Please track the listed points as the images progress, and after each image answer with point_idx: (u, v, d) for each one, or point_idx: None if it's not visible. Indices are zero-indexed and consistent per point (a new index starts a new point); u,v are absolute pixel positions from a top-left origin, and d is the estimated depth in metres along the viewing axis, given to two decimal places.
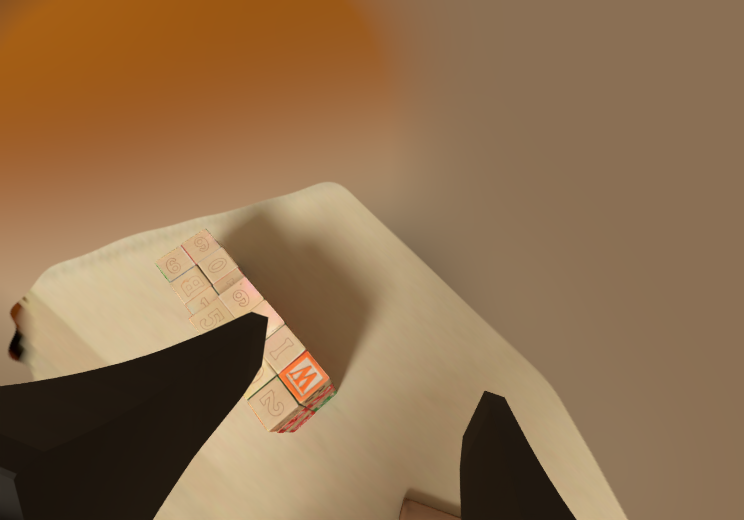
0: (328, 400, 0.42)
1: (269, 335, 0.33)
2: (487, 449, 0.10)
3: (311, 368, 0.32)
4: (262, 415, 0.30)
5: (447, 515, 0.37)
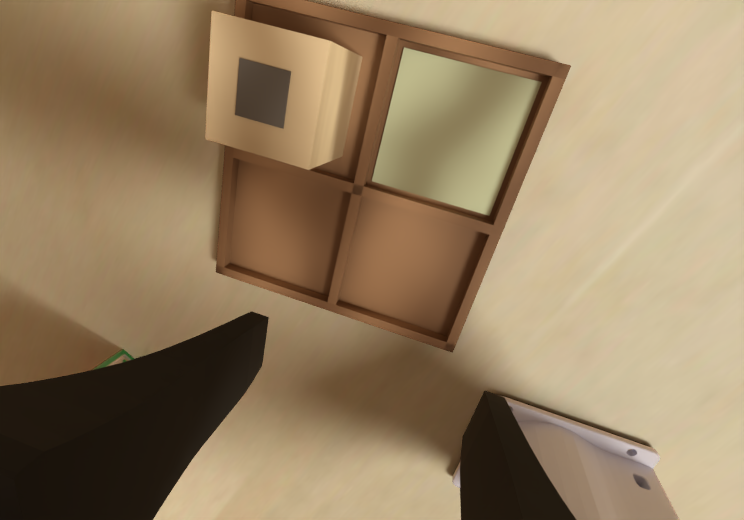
0: None
1: None
2: (487, 449, 0.10)
3: None
4: None
5: (222, 204, 0.21)
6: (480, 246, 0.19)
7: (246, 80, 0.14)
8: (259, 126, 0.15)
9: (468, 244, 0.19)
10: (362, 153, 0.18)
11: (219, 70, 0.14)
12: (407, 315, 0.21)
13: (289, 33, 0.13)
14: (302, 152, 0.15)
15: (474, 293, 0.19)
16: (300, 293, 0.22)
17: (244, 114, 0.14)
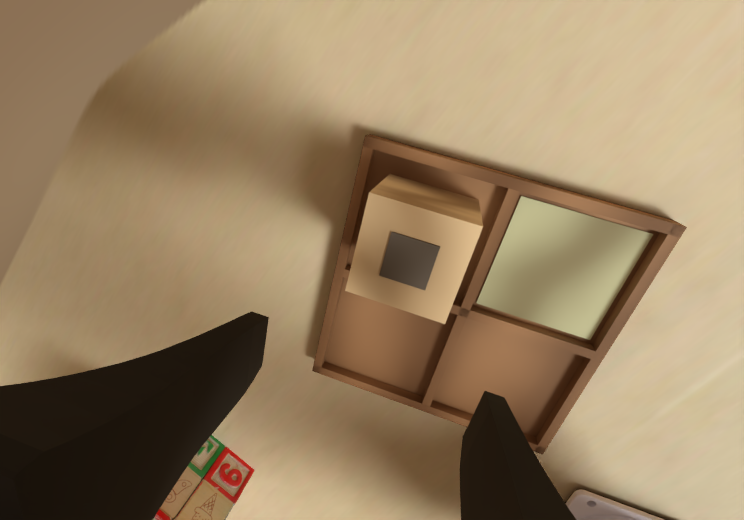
0: None
1: None
2: (487, 449, 0.10)
3: None
4: None
5: (326, 314, 0.22)
6: (577, 364, 0.20)
7: (394, 249, 0.15)
8: (401, 286, 0.16)
9: (566, 361, 0.20)
10: (472, 283, 0.19)
11: (368, 239, 0.15)
12: None
13: (443, 217, 0.14)
14: (441, 310, 0.16)
15: (570, 406, 0.20)
16: (395, 394, 0.23)
17: (388, 275, 0.16)
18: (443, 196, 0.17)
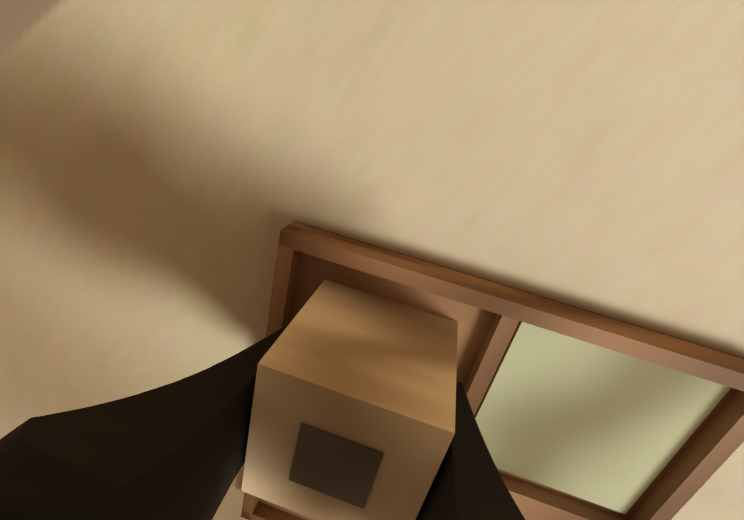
0: None
1: None
2: None
3: None
4: None
5: None
6: None
7: (309, 447, 0.09)
8: (326, 497, 0.10)
9: None
10: None
11: (266, 428, 0.09)
12: None
13: (385, 411, 0.08)
14: None
15: None
16: None
17: (304, 480, 0.10)
18: (399, 330, 0.11)
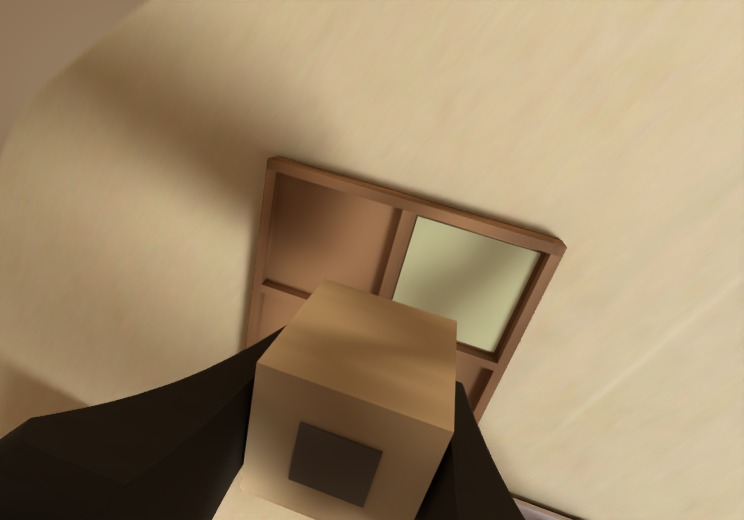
0: None
1: None
2: None
3: None
4: None
5: (249, 327, 0.23)
6: (485, 375, 0.21)
7: (308, 446, 0.09)
8: (326, 495, 0.10)
9: (474, 372, 0.21)
10: None
11: (265, 428, 0.09)
12: None
13: (384, 410, 0.08)
14: None
15: (479, 415, 0.21)
16: None
17: (303, 479, 0.10)
18: (399, 329, 0.11)
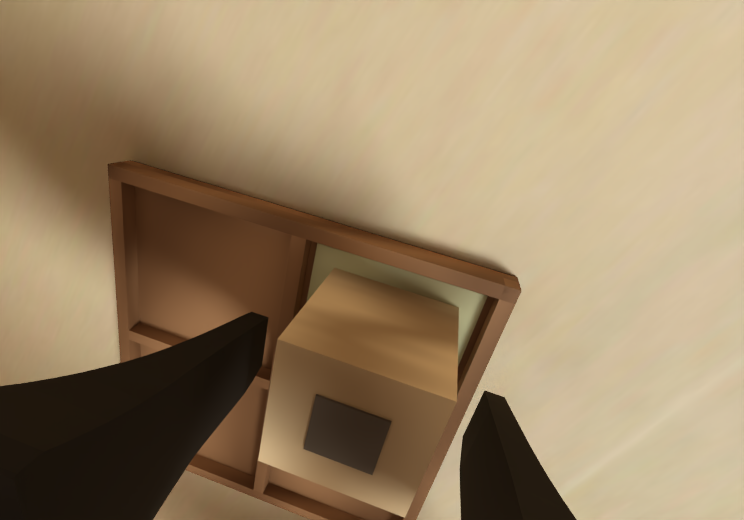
0: None
1: None
2: (487, 449, 0.10)
3: None
4: None
5: None
6: None
7: (323, 417, 0.10)
8: (338, 464, 0.10)
9: None
10: None
11: (283, 401, 0.10)
12: (347, 506, 0.18)
13: (393, 382, 0.09)
14: (398, 500, 0.10)
15: (420, 503, 0.16)
16: (222, 477, 0.18)
17: (317, 449, 0.10)
18: (405, 313, 0.12)
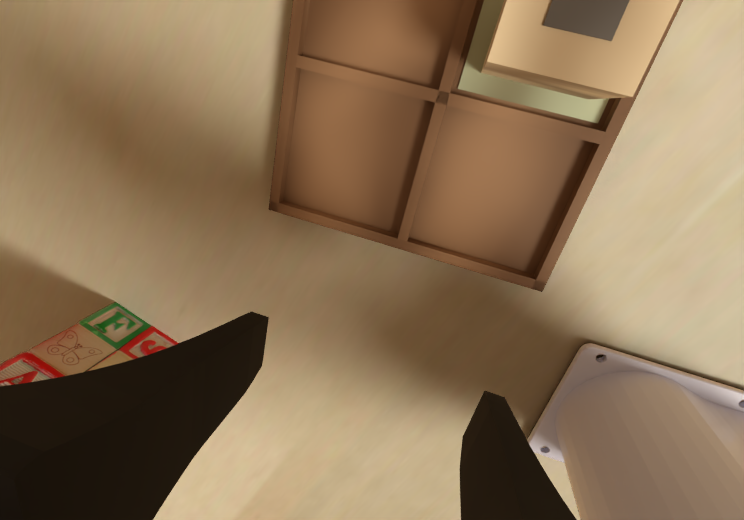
0: (129, 311, 0.26)
1: None
2: (487, 450, 0.10)
3: None
4: None
5: (280, 126, 0.18)
6: (582, 162, 0.16)
7: None
8: (575, 40, 0.11)
9: (568, 161, 0.17)
10: (451, 51, 0.15)
11: None
12: (488, 252, 0.19)
13: None
14: (630, 72, 0.11)
15: (574, 218, 0.17)
16: (366, 229, 0.19)
17: (556, 24, 0.11)
18: None
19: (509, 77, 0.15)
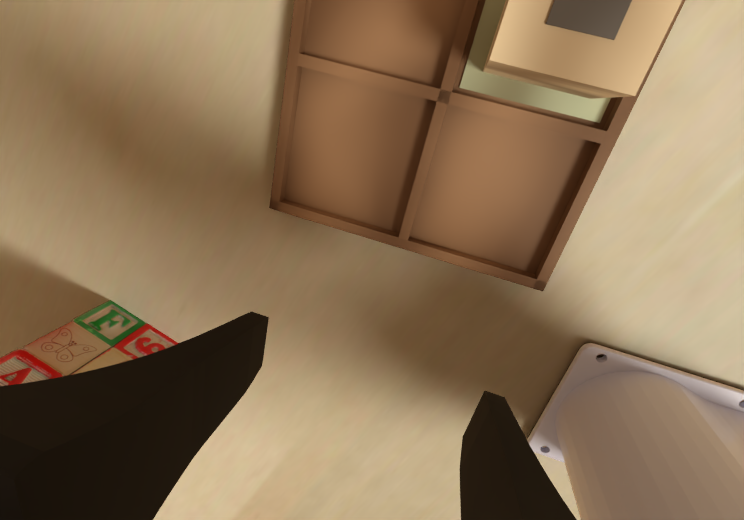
0: (124, 309, 0.27)
1: None
2: (487, 449, 0.10)
3: None
4: None
5: (281, 124, 0.18)
6: (584, 162, 0.16)
7: None
8: (578, 39, 0.11)
9: (570, 160, 0.17)
10: (453, 50, 0.15)
11: None
12: (489, 251, 0.19)
13: None
14: (633, 71, 0.11)
15: (575, 217, 0.17)
16: (367, 228, 0.19)
17: (559, 23, 0.11)
18: None
19: (511, 76, 0.15)
